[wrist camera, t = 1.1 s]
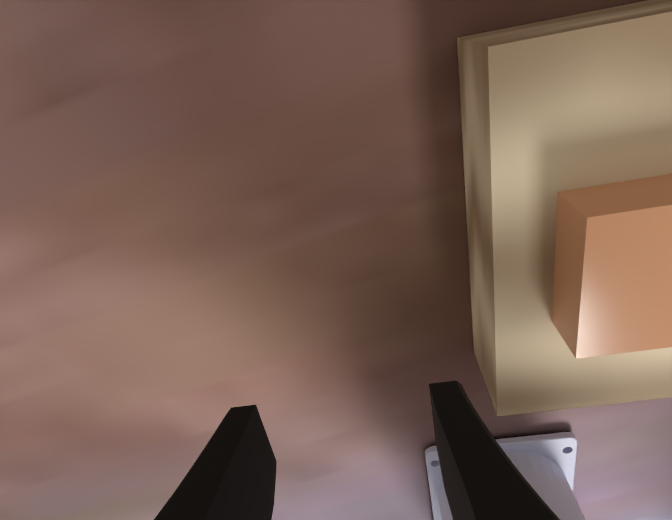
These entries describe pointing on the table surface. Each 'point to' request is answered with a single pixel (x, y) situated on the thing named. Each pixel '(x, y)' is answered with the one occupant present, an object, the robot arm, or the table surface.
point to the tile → (614, 267)
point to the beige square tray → (556, 187)
